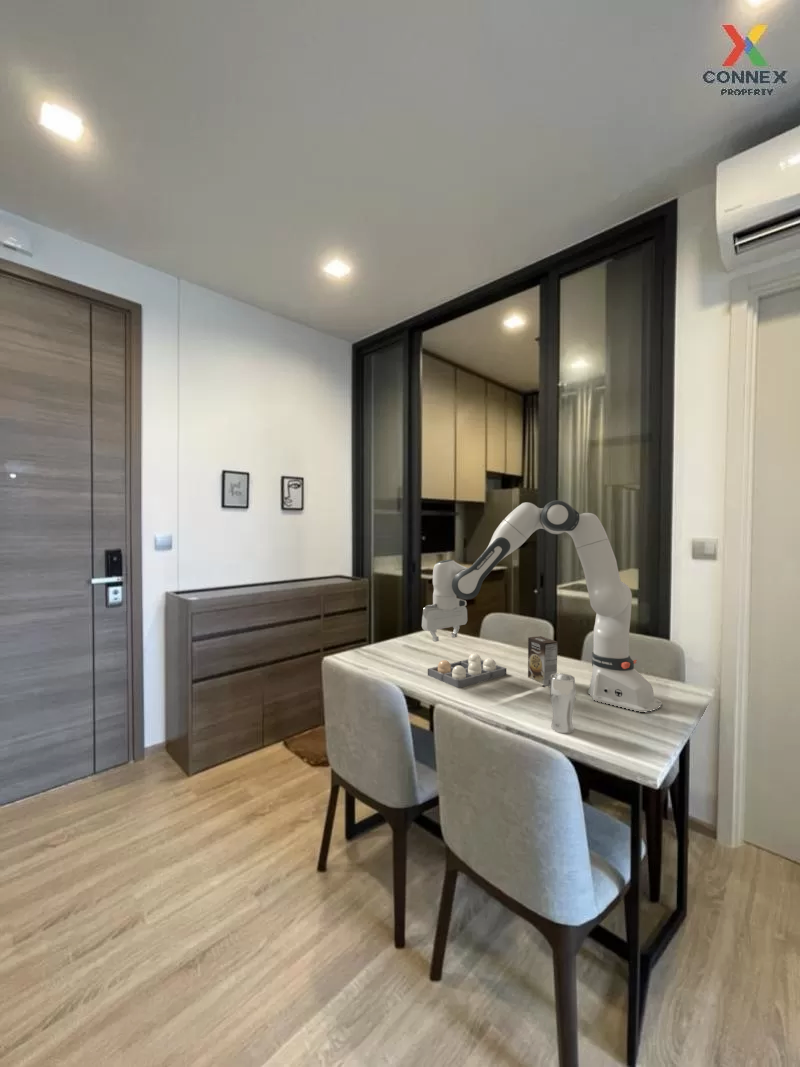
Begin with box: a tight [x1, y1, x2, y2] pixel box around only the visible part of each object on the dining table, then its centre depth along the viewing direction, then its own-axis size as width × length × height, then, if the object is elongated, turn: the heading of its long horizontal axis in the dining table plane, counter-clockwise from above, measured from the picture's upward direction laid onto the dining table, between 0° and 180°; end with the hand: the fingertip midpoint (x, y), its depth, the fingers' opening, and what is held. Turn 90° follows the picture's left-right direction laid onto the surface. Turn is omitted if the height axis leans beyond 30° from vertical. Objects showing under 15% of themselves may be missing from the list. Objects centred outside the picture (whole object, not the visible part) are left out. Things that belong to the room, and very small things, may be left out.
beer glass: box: [549, 672, 577, 734], centre depth 132 cm, size 7×7×15 cm
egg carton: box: [427, 659, 507, 689], centre depth 176 cm, size 17×25×4 cm
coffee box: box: [527, 636, 558, 688], centre depth 171 cm, size 9×6×16 cm
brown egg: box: [437, 659, 451, 674], centre depth 175 cm, size 5×5×6 cm
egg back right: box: [468, 652, 482, 665], centre depth 184 cm, size 5×5×6 cm
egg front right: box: [483, 657, 497, 671], centre depth 178 cm, size 5×5×6 cm
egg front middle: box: [468, 662, 481, 675], centre depth 173 cm, size 5×5×6 cm
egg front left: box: [452, 665, 466, 680], centre depth 168 cm, size 5×5×6 cm
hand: (445, 639), depth 174 cm, fingers open, 8 cm apart
